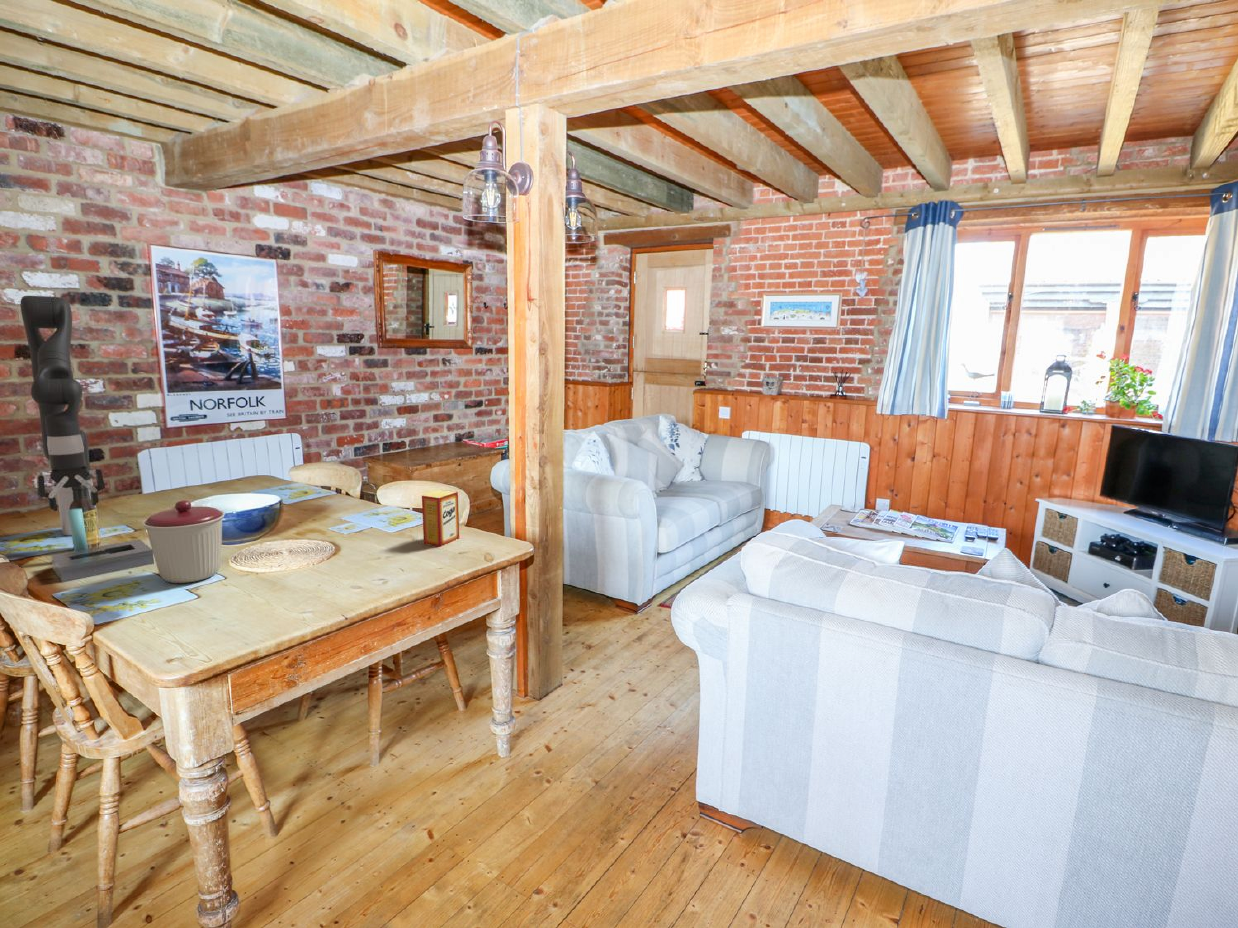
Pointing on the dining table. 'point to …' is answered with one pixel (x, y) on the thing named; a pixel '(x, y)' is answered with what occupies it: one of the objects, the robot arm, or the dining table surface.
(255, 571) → the dining table surface
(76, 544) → the peg
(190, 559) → the canister
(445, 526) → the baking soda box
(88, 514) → the sauce bottle
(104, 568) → the grey slotted block
